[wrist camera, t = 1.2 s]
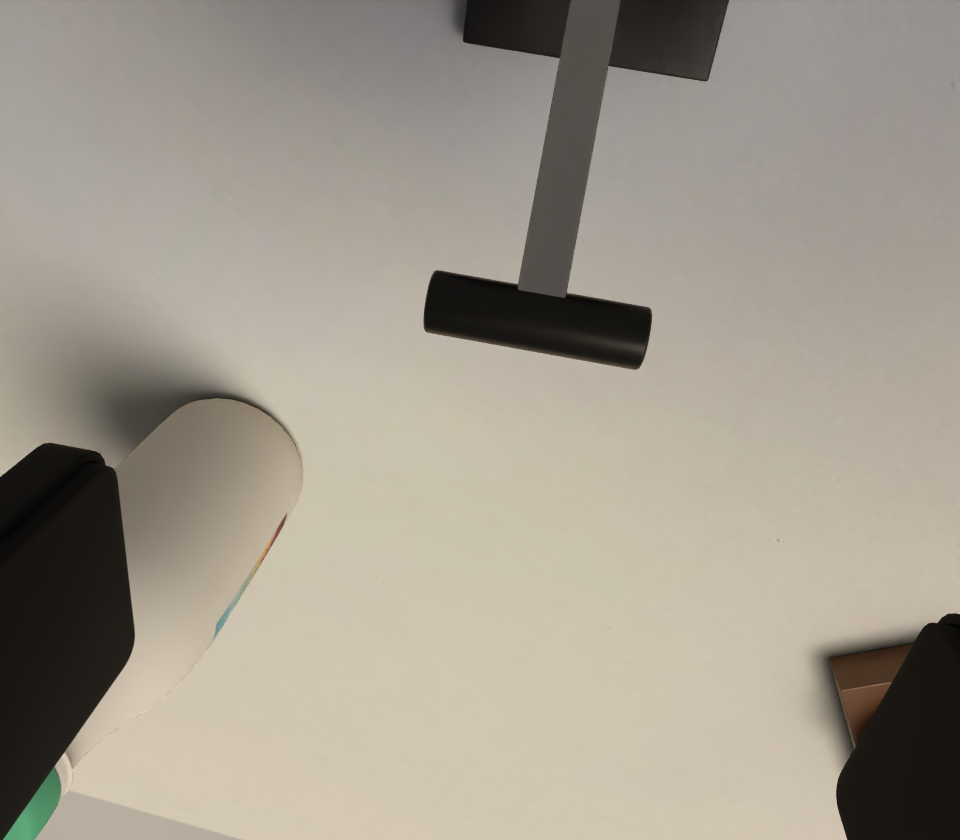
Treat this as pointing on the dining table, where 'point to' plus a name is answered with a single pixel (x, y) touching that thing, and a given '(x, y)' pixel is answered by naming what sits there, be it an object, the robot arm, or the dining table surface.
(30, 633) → the robot arm
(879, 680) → the button block
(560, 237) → the lever
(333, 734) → the dining table surface
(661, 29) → the bracket
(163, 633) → the milk bottle
